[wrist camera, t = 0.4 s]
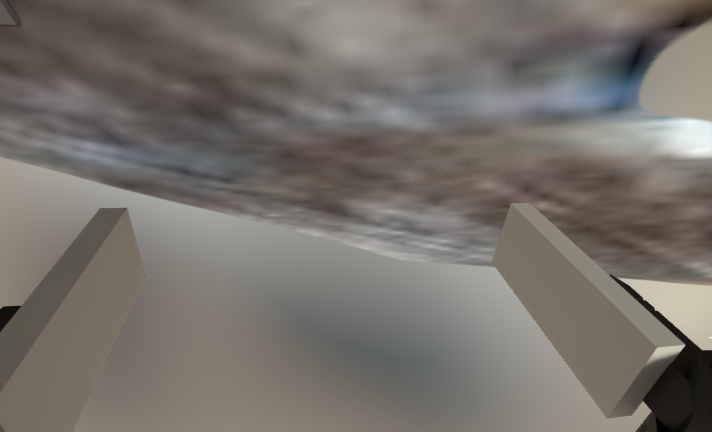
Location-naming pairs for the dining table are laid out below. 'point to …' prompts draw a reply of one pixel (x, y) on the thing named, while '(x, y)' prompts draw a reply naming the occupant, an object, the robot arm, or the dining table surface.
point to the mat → (7, 14)
